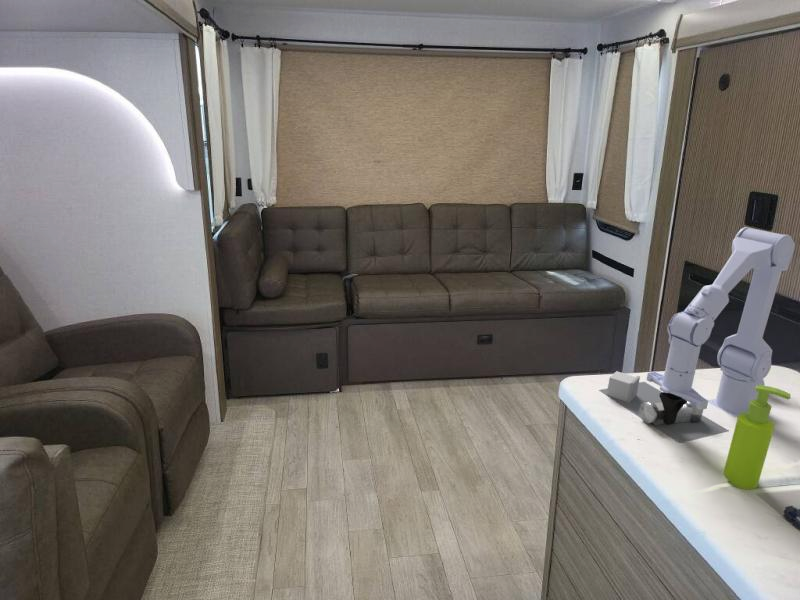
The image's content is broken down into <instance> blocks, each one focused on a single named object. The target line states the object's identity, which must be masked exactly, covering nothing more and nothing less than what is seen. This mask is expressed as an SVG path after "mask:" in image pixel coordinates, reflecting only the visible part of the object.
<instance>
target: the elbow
mask: <svg viewBox="0 0 800 600" xmlns="http://www.w3.org/2000/svg"><path fill="white" fill-rule="evenodd" d="M639 411H640V416H641V418H640V419H641V420H642V421H643V422H644V423H645V424H649V423H653V424H654V425H660V424H665V423H663V418H664V408H663V404H662V403H653V402H644V403H642V404H641V405H640V410H639ZM703 413H704V409H703V410H699V409H697V408H696V406H695V405H693V404H691V403H689V402H687V403H686V404H685V405H684V406H683V407H682V408H681V409H680V410H679V412H678V413H677V417H676V421H675V423H680V422H700V421H701V418H702V415H703Z"/></svg>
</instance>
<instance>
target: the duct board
mask: <svg viewBox="0 0 800 600" xmlns="http://www.w3.org/2000/svg"><path fill="white" fill-rule="evenodd" d="M640 379H641V376H639V375H637V376H634V375H631V374H626V373H624V372H620V371H618V370H616V371H615V372H614V373H613V374H611V376H610V377H609V380H608V384H607V388H603V389H599V390H598V391H599V392H600V393H602V394H604V395H605V396H606V397H608V398H609V399H611V400H613V401H614V402H616V403H617V404H618V405H620V406H622V407H624V408H625V409H626V410H627V411H629V412H631V413H633V414H634V415H636V416H637V417H638V418H640V419H642V418H641V416H640V411H639V410H640V405H641V404H642V403H644V402H653V403H662V401H661V399H660V397H659V395H660V393H662V392H663V391H661V390H660V389H658V388H656V387H654V386H652V385H651V384H649V383H647V382H646V381H640ZM648 424H649V425H651V426H653V427H654V428H655V429H657V430H658V431H660V432H661V433H663V434H665V436H668V437H669V438H671V439H672V440H674V441H675V442H676V443H678V444H681V443H686V442H690V441H695V440H699V439H702V438H707V437H710V436H715V435H718V434H723V433H727V432H729V431H730V430H729V429H727V428H725V427H724V426H722V425H721V424H719V423H716V422H714V421H713V420H712V419H709V418H708V417H706V416H704V415H703V414H702V418H701V421H700V422H680V423H674V424H670V425H667V424H660V425H654V424H653V423H648Z"/></svg>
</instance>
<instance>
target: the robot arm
mask: <svg viewBox="0 0 800 600" xmlns="http://www.w3.org/2000/svg"><path fill="white" fill-rule="evenodd" d="M795 245H796V244H795V242H794V240H793V238H792V235H789V234H781V233H777V232H771V231H766V230H762V229H756V228H752V227H749V226H744V227H742V228H741V229H740V230H739V231H738V232H736V235H735V237H734V239H732V243H731V255H730V257H729V258H728V259H727V261H726V263H725V264H724V266H723V267H722V269H721V270H720V272H719V273H718V274H717V277H716V278H715V279H714V281H713V283H712V284H709V285H707V284H706V285H704V286H703V287H701V289H700V290H699V291H698V293H697V294H696V295H695V297H694V298H693V299H692V300H691V301H690V303H689V304H688V305H687V307H686V308H685V309H684V310H683V311H680V312H677V313H675V314H674V315H672V316H671V319H670V320H669V323H668V324H667V327H666V328H667V329H666V330H667V333H668V334H667V335H668V340H667V342H668V344H669V345H670V346H669V349H668V350H669V351H668V355H667V359H666V363H665V364H666V365H665V370H664V374H661V373H658V372H656V371H649V372H647V376H646V381H647V382H649V383H651V382H652V383H654V384H656V385H658V386H659V390H660V391H661V392H662V393H660V395H659V397H660V399H661V401H662V404H663V408H664V418H663V423H665V424H667V425H670V424H674V423H675V421H676V417H677V413H678V412H679V410H680V409H681V408H682V407H683V406H684V405H685V404H686V403H687V402H689V403H691V404H693V405H695V406H696V408H697V409H699V410H703V411H704V410H706V409H708V408H707V407H708V404H711V405H713V406H715V408H718V409H720V410H722V411H723V412H725V413H727V414H729V415H731V416H733V417H737V418H738V415H739V414H741V413H747V412H748V408H749V404H750V401H751V400H756V399H757V395H758V391H756V385H763V386H766V385H765V380H764V379H765V378H766V377H767V376H768V374H769V373H770V371H771V369H772V356H773V349H772V348H771V346H770V345H769V344H768V343H767V342H766V341H765V340H764V338H763V337H764V333H765V330H766V327H767V323H768V319H769V316H770V312H771V309H772V307H773V306H772V305H773V303H774V299H775V295H776V293H777V288H778V285H779V282H780V279H781V275H782V272H784V271H785V272H786V271H788V269H789V266H790V264H791V260H792V257H793V254H794V250H795ZM752 269H753V274H752V278H751V282H750V284H749V289H748V292H747V295H746V300H745V303H744V307H743V311H742V312H741V313H742V314H741V318H740V322H739V325H738V329H737V332H736V333H735V334H731V335H730V336H727V337H725V338H724V341H723V342H722V343H723V344H722V345H721V347H720V348H719V350H718V352H717V358H716V359H717V364H718V366H719V367H720V369H719V370H720V371H722V374H721V376H720V377H721V378H720V382H719V386H718V390H717V395H716V398H712V399H707V398H705V397H703V396H702V395H701V394H700V393H699V392H697V391H696V389H694V388H693V382H694V378H695V375H696V369H697V367H698V366H697V364H698V361H699V356H700V352H701V349H702V348H701V347H702V345H704V344H705V342H707V341H708V339H709V338H710V337H711V333H712V330H713V328H714V326H715V320H716V319H718V316H719V315H720V314H721V312H722V311H723V310H724V309H725V307H726V306H727V305H728V304H729V302H730V298H729V293H730V292H731V291H733V289H734V288H735V287H736V286H737V284H739V283H740V282H741V280H742V279H744V277H745V276H746V275H747V274H748V273H749V272H750V271H751V270H752Z"/></svg>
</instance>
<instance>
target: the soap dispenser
mask: <svg viewBox="0 0 800 600" xmlns="http://www.w3.org/2000/svg"><path fill="white" fill-rule="evenodd" d="M756 391H758V395H757V399H756V400H751V401H750V404H749V408H748V412H747V413H741V414H739V415H737V419H736V423H735V426H734V431H733V434H732V438H731V442H730V447H729V450H728V453H727V456H726V457H727V458H726V462H725V465H724V469H723V476H724V477H725V478H726V479H727V483H728V484H730V485H732V486H734V487H736V488H738V489H742V490H749V491H750V490H751V491H752V490H755V489H757V488H758V485H759V482H760V479H761V476H762V475H761V474H762V472H763V469H764V465H765V461H766V457H767V454H768V451H769V447H770V444H771V441H772V438H773V437H772V436H773V433H774V429H775V424H774V422H773V421H772V420H770V419H769V417H770V414H771V410H772V406H771V404H770V403H769V402H768V400H769V396H770V395H774V396H778V397H781V398H783V399H785V400H789V399H791V393H790V392H787V391H785V390H782V389H779V388H777V387H772V386H767V385H765V386H763V385H756Z"/></svg>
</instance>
